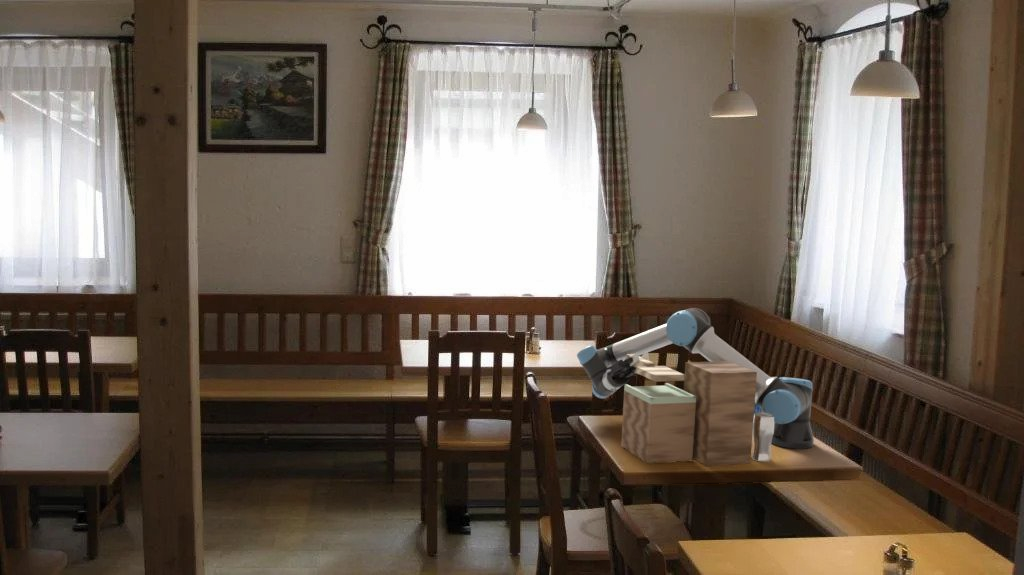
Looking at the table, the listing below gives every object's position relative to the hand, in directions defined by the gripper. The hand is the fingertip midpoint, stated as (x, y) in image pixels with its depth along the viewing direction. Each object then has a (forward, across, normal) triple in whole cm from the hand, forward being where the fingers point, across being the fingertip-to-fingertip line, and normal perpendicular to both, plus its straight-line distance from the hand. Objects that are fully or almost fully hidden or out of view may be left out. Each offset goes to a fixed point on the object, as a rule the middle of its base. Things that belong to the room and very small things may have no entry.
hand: (642, 356), depth 345 cm
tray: (+6, 0, -16) cm, 17 cm away
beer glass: (+8, -32, -39) cm, 51 cm away
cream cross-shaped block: (+2, 0, -6) cm, 7 cm away
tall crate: (+3, -18, -36) cm, 41 cm away
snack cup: (-30, -54, -17) cm, 65 cm away
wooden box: (-3, 0, -33) cm, 33 cm away
